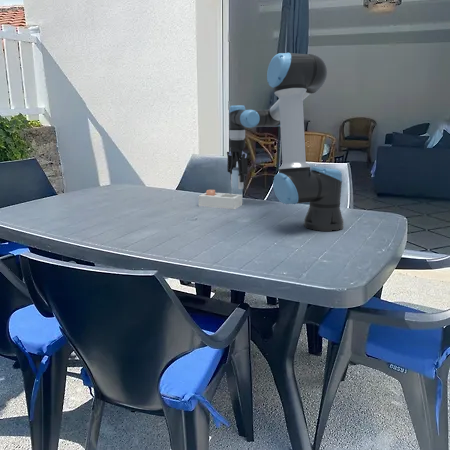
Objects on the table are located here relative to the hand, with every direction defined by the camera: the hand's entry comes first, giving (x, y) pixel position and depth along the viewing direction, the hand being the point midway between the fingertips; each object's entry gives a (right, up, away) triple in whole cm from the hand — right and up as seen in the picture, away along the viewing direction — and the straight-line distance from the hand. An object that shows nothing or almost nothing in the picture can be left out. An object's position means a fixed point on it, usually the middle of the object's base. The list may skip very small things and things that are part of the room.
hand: (237, 187), depth 208 cm
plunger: (-13, -7, -5) cm, 15 cm away
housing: (-8, -10, -6) cm, 14 cm away
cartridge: (0, -6, +2) cm, 6 cm away
